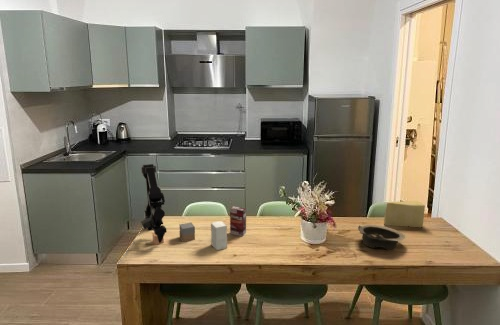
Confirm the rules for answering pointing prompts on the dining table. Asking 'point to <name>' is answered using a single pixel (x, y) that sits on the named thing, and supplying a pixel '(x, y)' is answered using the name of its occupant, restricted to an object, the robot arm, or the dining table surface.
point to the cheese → (404, 213)
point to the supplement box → (238, 221)
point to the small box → (219, 235)
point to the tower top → (187, 228)
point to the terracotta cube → (156, 239)
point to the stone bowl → (380, 236)
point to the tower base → (187, 237)
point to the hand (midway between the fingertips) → (158, 239)
